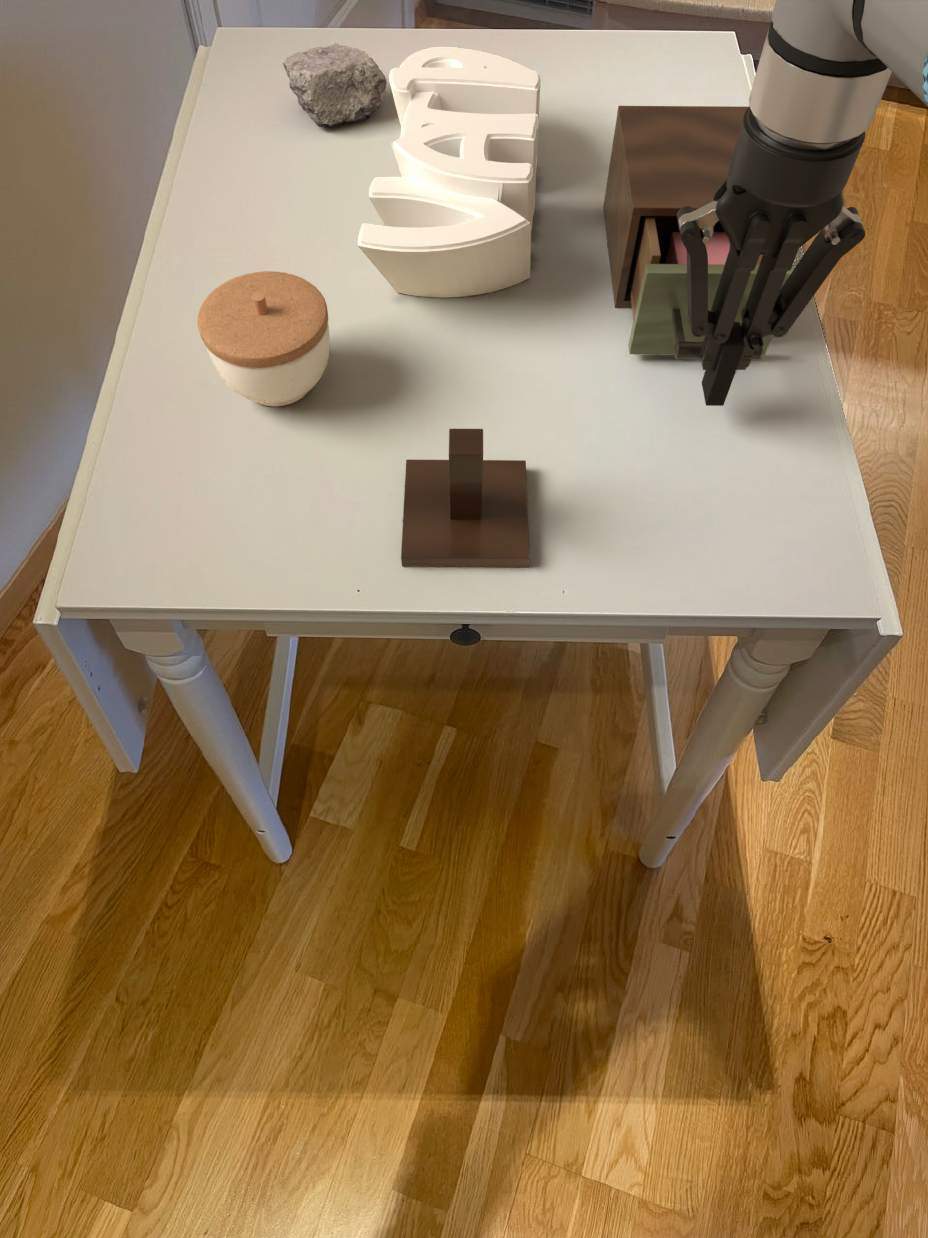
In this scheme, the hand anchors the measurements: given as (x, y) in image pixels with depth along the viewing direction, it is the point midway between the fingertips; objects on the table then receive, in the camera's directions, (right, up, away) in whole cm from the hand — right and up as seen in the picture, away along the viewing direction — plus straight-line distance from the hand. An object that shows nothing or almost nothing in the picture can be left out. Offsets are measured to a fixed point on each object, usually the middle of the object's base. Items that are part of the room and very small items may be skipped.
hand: (712, 393), depth 75 cm
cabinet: (0, +17, +14) cm, 22 cm away
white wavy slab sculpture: (-22, +23, +17) cm, 36 cm away
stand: (-21, -11, -3) cm, 24 cm away
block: (0, +11, +8) cm, 14 cm away
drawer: (0, +9, +8) cm, 12 cm away
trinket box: (-38, +2, +5) cm, 38 cm away
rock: (-36, +40, +27) cm, 60 cm away
